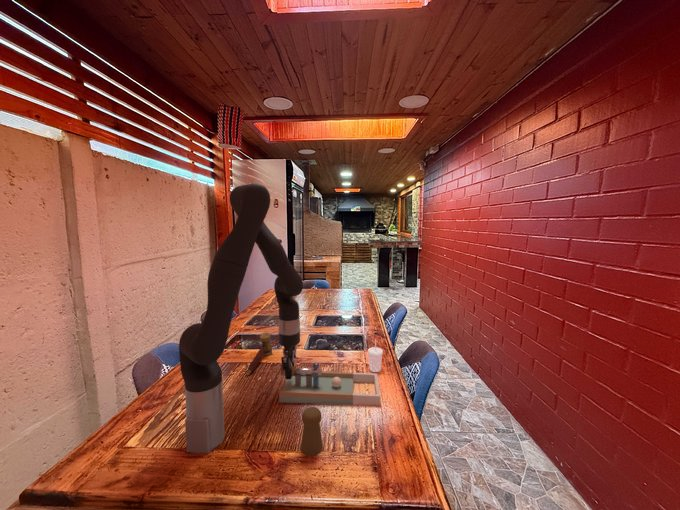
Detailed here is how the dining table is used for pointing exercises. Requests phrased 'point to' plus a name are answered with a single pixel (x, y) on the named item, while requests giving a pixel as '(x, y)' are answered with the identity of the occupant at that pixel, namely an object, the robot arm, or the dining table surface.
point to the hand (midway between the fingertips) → (289, 375)
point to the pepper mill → (311, 432)
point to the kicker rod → (306, 372)
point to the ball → (336, 381)
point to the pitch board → (329, 389)
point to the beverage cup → (375, 358)
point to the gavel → (261, 351)
